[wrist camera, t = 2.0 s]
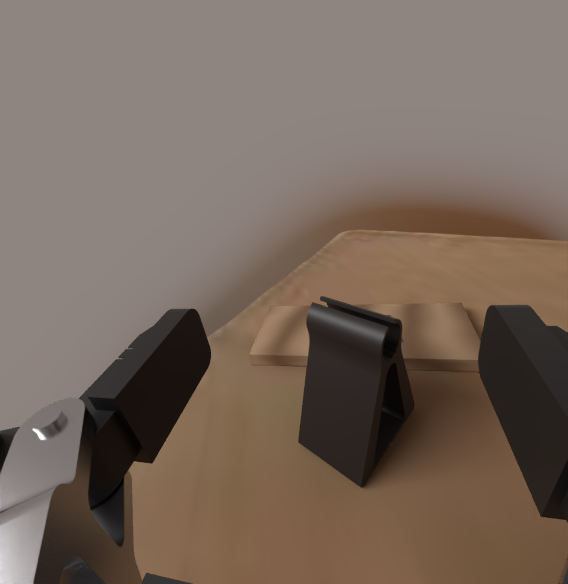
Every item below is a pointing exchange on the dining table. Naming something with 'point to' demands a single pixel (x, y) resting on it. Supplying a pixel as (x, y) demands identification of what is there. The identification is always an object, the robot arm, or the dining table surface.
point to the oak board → (414, 343)
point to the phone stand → (353, 387)
